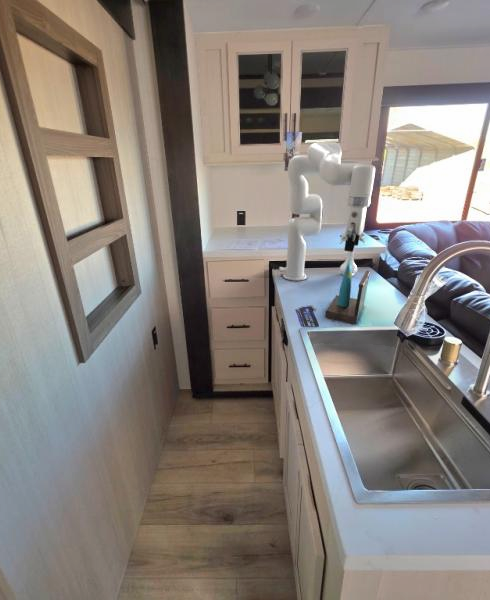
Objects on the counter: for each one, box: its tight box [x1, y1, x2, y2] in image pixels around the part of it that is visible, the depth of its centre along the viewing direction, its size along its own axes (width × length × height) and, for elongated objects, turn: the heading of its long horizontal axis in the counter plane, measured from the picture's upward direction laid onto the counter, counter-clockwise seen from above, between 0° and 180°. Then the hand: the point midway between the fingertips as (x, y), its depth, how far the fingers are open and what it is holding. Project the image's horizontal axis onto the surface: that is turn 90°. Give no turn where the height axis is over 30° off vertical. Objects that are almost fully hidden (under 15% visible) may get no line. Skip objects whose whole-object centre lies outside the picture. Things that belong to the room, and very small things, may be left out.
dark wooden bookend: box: [324, 270, 371, 325], centre depth 127 cm, size 12×18×16 cm
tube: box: [337, 259, 353, 307], centre depth 126 cm, size 7×5×19 cm, turn 162°
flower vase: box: [339, 228, 366, 277], centre depth 169 cm, size 13×18×25 cm
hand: (351, 248), depth 121 cm, fingers open, 9 cm apart
